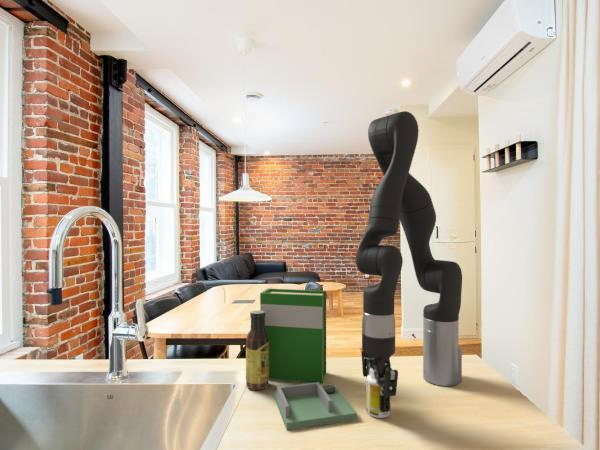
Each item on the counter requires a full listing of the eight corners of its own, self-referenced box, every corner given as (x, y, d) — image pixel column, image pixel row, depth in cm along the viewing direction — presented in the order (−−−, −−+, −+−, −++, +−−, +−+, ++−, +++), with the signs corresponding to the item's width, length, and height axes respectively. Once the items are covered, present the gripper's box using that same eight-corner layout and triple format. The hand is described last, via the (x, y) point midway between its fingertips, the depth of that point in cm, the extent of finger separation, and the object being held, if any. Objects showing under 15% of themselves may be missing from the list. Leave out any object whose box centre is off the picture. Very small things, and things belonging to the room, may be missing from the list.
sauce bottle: (265, 392, 96) (265, 315, 95) (242, 390, 97) (242, 314, 97) (272, 381, 102) (272, 309, 102) (250, 379, 103) (250, 308, 103)
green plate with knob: (333, 389, 97) (333, 374, 97) (356, 419, 82) (356, 401, 82) (273, 397, 93) (273, 381, 93) (286, 430, 78) (286, 411, 78)
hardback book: (326, 372, 108) (326, 290, 107) (322, 383, 101) (322, 295, 100) (268, 367, 111) (268, 288, 111) (260, 378, 104) (260, 293, 104)
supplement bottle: (395, 416, 84) (395, 371, 84) (374, 421, 82) (374, 375, 82) (382, 405, 89) (382, 362, 89) (361, 409, 87) (361, 365, 87)
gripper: (409, 340, 79) (409, 418, 79) (379, 322, 93) (378, 388, 93) (377, 342, 77) (377, 423, 77) (351, 324, 91) (351, 392, 91)
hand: (378, 404), depth 85 cm, fingers closed on supplement bottle, 5 cm apart
